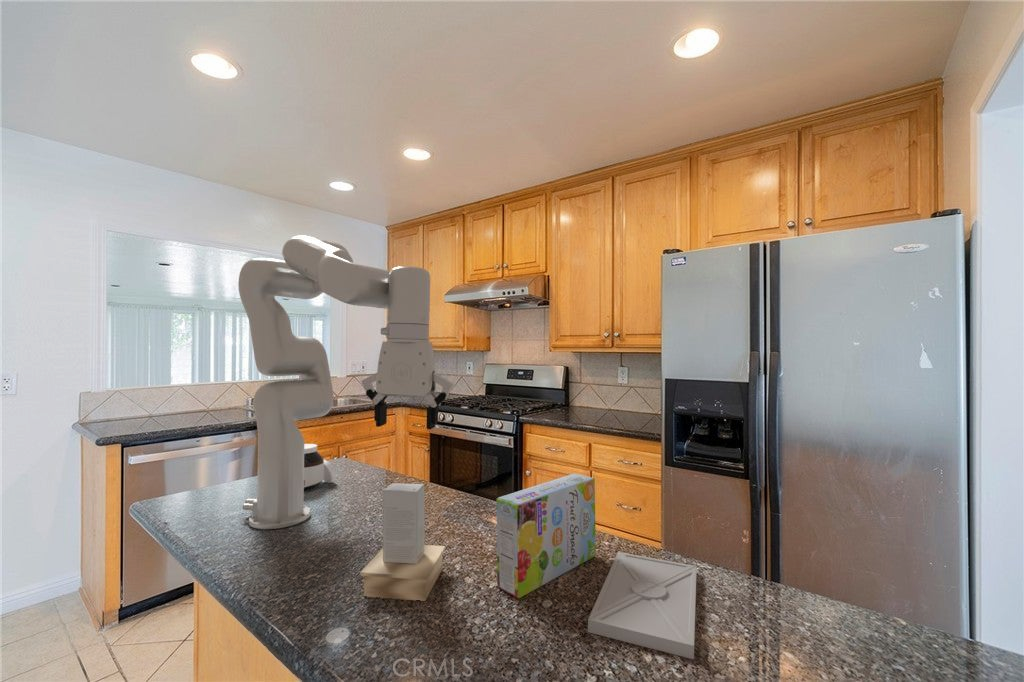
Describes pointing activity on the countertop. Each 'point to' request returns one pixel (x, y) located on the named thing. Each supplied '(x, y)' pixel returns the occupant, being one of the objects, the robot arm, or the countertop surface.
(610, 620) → the envelope
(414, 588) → the pedestal
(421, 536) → the skincare box
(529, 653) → the countertop surface
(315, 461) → the spread jar
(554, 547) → the snack box
